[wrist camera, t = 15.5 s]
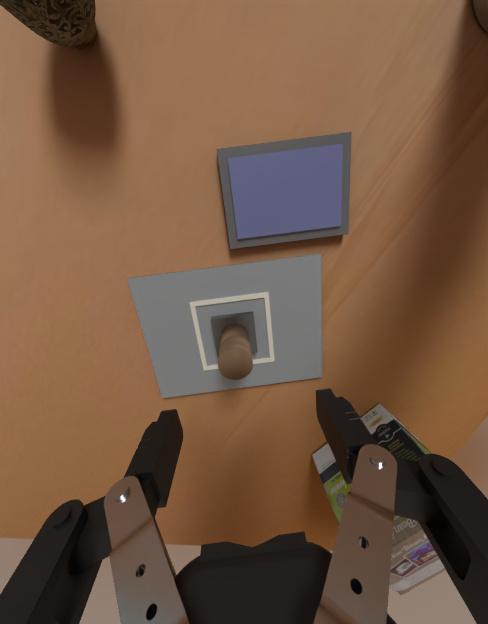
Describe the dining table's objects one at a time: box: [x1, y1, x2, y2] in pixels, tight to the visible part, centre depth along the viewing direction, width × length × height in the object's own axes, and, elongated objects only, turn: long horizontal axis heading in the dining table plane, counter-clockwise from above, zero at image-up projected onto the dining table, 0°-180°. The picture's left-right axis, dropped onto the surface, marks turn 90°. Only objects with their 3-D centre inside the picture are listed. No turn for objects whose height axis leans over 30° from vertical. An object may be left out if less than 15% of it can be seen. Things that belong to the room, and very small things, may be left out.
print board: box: [127, 254, 322, 398], centre depth 31 cm, size 24×18×1 cm
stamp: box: [211, 311, 258, 380], centre depth 27 cm, size 6×6×8 cm
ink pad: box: [217, 132, 351, 249], centre depth 25 cm, size 14×10×2 cm
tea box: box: [312, 404, 446, 595], centre depth 32 cm, size 15×10×15 cm, turn 136°
